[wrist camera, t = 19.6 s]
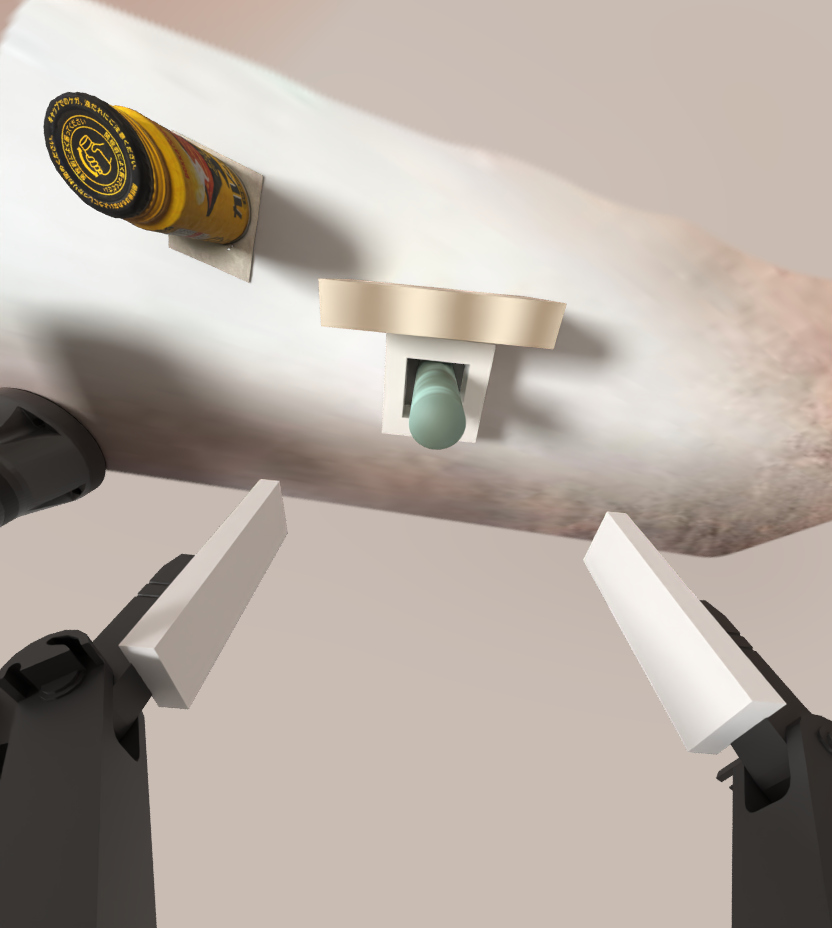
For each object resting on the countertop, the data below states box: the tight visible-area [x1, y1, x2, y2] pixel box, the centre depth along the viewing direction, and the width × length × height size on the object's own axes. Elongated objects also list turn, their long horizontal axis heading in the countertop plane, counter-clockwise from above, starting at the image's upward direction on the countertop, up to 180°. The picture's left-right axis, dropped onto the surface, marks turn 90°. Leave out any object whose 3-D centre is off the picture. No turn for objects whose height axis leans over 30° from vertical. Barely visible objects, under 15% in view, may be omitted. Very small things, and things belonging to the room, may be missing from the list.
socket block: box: [382, 333, 496, 443], centre depth 33 cm, size 10×10×4 cm
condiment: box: [44, 92, 263, 282], centre depth 23 cm, size 7×8×12 cm
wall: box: [318, 279, 566, 349], centre depth 27 cm, size 17×3×10 cm, turn 85°
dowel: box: [409, 359, 466, 450], centre depth 28 cm, size 4×4×14 cm
